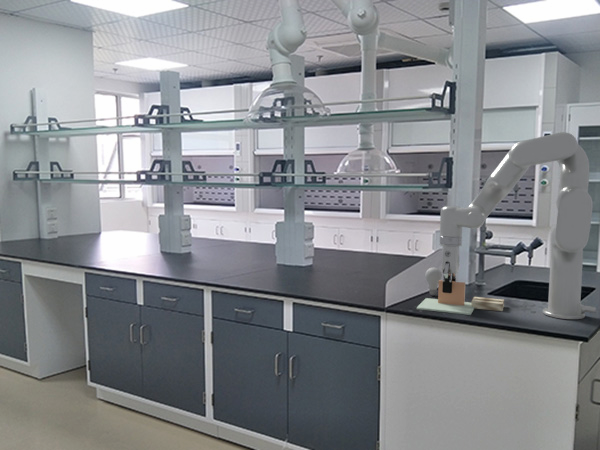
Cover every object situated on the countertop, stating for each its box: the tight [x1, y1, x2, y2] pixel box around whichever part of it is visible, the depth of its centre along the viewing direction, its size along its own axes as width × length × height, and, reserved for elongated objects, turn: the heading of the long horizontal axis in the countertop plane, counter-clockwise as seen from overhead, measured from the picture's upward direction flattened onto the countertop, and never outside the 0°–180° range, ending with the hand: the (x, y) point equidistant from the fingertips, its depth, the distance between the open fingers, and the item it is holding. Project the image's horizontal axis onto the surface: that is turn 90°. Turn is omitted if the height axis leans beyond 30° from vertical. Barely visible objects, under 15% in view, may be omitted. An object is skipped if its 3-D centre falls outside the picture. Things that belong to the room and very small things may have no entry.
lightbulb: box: [424, 267, 443, 297], centre depth 206 cm, size 6×6×11 cm
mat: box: [416, 297, 476, 316], centre depth 189 cm, size 18×16×1 cm
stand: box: [470, 296, 505, 312], centre depth 189 cm, size 10×7×2 cm
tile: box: [437, 279, 466, 306], centre depth 191 cm, size 8×2×9 cm
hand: (448, 290), depth 191 cm, fingers open, 7 cm apart
